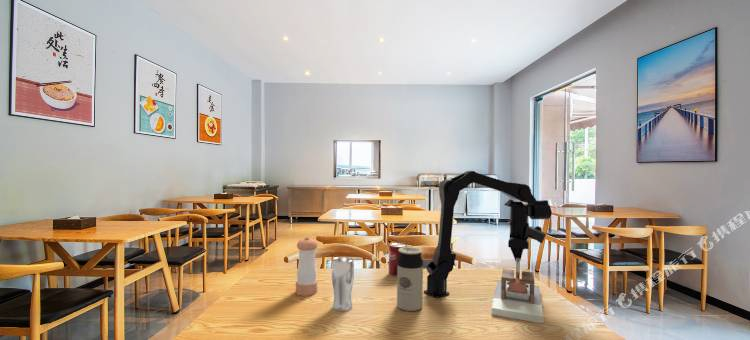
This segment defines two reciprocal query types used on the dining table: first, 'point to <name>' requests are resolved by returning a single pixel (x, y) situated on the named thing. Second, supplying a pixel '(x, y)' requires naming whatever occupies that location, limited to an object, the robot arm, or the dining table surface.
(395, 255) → the soda can
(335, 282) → the beer glass
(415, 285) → the travel mug
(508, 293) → the grey piece
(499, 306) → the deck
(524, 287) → the block
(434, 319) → the dining table surface
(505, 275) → the tunnel
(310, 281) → the pepper shaker
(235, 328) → the dining table surface
